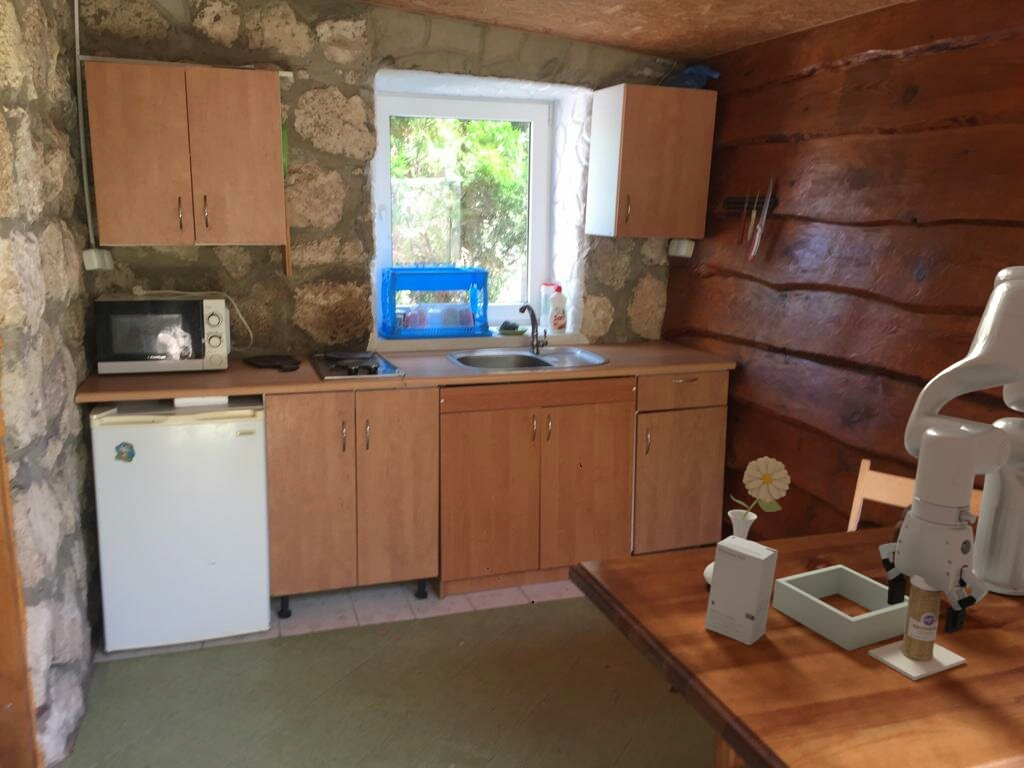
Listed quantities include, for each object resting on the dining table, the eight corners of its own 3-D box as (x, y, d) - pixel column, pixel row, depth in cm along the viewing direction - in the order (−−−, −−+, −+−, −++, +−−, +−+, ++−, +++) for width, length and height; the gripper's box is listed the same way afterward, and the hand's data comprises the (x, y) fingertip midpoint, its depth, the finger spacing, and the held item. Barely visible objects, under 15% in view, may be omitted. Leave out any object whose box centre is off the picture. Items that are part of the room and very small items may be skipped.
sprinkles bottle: (914, 663, 125) (926, 580, 123) (894, 648, 130) (904, 567, 127) (940, 660, 127) (952, 578, 124) (919, 645, 131) (930, 565, 128)
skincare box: (704, 629, 134) (712, 542, 131) (721, 616, 139) (729, 532, 136) (753, 647, 129) (763, 558, 126) (769, 634, 134) (779, 547, 131)
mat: (918, 638, 134) (919, 635, 134) (965, 662, 128) (965, 659, 127) (868, 654, 129) (868, 650, 129) (914, 680, 122) (914, 676, 122)
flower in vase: (697, 592, 147) (710, 457, 142) (708, 568, 158) (720, 441, 152) (774, 608, 143) (790, 469, 137) (779, 582, 153) (795, 452, 148)
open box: (836, 590, 151) (840, 564, 150) (915, 630, 137) (919, 602, 136) (772, 606, 143) (775, 579, 142) (848, 650, 129) (852, 621, 128)
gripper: (1012, 527, 117) (992, 638, 121) (904, 489, 132) (890, 588, 136) (979, 535, 114) (960, 649, 117) (873, 495, 129) (858, 597, 132)
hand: (922, 616), depth 127 cm, fingers open, 9 cm apart
